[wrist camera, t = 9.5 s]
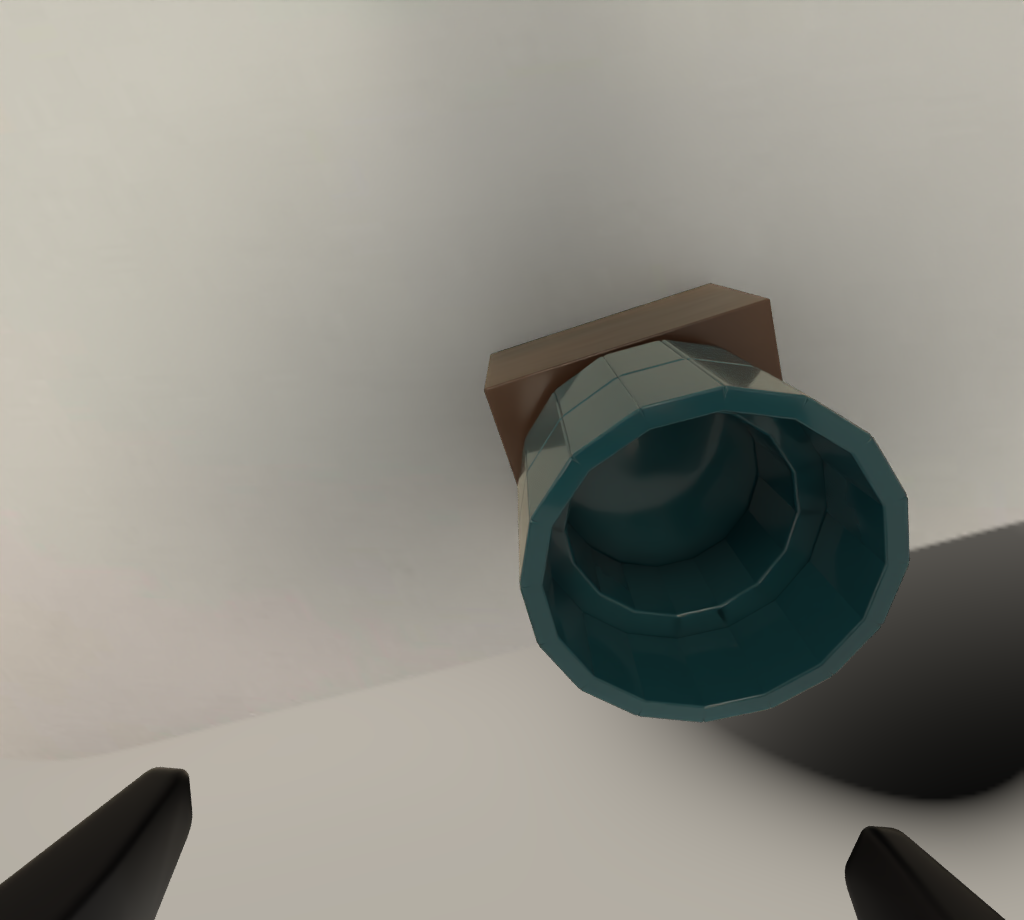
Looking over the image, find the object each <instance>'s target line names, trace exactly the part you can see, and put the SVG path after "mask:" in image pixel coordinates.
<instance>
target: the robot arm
mask: <svg viewBox="0 0 1024 920" xmlns="http://www.w3.org/2000/svg"><path fill="white" fill-rule="evenodd" d="M191 822H192V805H191V793H190V783H189V776H188V773H187V772H186V771H185V770H183V769H175V768H164V767H156V768H153V769H151V770H149V771H147V772H145V773H144V774H143V775H141V776H140V777H139V778H138V779H136V780H135V781H134V782H132V783H131V784H130V785H128V787H126V788H125V789H123V790H122V791H121V792H120V793H118V794H117V795H116V796H114V797H113V798H112V799H111V800H109V801H108V802H106V803H105V804H104V805H103V806H101V807H100V808H99V809H98V810H96V811H95V812H93V813H92V814H91V815H90V816H89V817H87V818H86V819H84V820H83V821H82V822H81V823H79V824H78V825H77V826H75V827H74V828H73V829H71V830H70V831H69V832H68V833H67V834H65V835H64V836H62V837H61V838H60V839H59V840H57V841H56V842H55V843H53V844H52V845H51V846H50V847H48V848H47V849H46V850H45V851H43V852H42V853H40V854H39V855H38V856H36V857H35V858H34V859H33V860H31V861H30V862H29V863H27V864H26V865H25V866H24V867H22V868H21V869H20V870H18V871H17V872H16V873H15V874H13V875H12V876H11V877H9V878H8V879H7V880H5V881H4V882H3V883H1V884H0V920H154V919H155V917H156V914H157V911H158V909H159V907H160V904H161V902H162V899H163V896H164V894H165V891H166V889H167V887H168V884H169V881H170V879H171V877H172V874H173V872H174V869H175V866H176V864H177V862H178V859H179V856H180V854H181V852H182V849H183V847H184V844H185V841H186V839H187V836H188V834H189V830H190V827H191ZM845 880H846V885H847V889H848V892H849V895H850V898H851V901H852V904H853V907H854V910H855V912H856V916H857V919H858V920H1005V919H1004V918H1003V917H1001V916H1000V915H999V914H998V913H997V912H996V911H995V910H993V909H992V908H991V907H990V906H989V905H988V904H986V903H985V902H984V901H983V900H982V899H980V898H979V897H978V896H977V895H976V894H974V893H973V892H972V891H971V890H970V889H969V888H968V887H966V886H965V885H964V884H963V883H962V882H961V881H959V880H958V879H957V878H956V877H954V876H953V875H952V874H951V873H950V872H949V871H948V870H946V869H945V868H944V867H943V866H942V865H941V864H939V863H938V862H937V861H936V860H935V859H934V858H932V857H931V856H930V855H929V854H928V853H926V852H925V851H924V850H923V849H922V848H920V847H919V846H918V845H917V844H916V843H915V842H914V841H912V840H911V839H910V838H909V837H907V836H906V835H905V834H904V833H903V832H901V831H899V830H897V829H894V828H888V827H875V826H868V827H866V828H865V829H863V830H862V832H861V834H860V836H859V838H858V840H857V842H856V844H855V846H854V848H853V850H852V853H851V855H850V857H849V859H848V861H847V863H846V866H845Z"/></svg>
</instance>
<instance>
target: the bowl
mask: <svg viewBox="0 0 1024 920" xmlns="http://www.w3.org/2000/svg"><path fill="white" fill-rule="evenodd" d="M518 539H519V583H520V590H521V593H522V597H523V600H524V603H525V606H526V609H527V612H528V615H529V619H530V622H531V625H532V628H533V631H534V634H535V638H536V641H537V643H538V644H539V646H540V648H542V650H543V651H544V652H545V653H546V654H547V655H548V656H549V657H550V658H551V659H552V660H553V661H554V662H555V663H556V665H557V666H558V667H559V668H560V669H561V670H562V671H563V672H564V673H565V674H566V675H567V676H568V677H569V679H571V681H572V682H573V683H574V684H575V685H576V686H577V687H578V688H579V689H581V690H582V691H584V692H586V693H588V694H590V695H592V696H594V697H597V698H599V699H601V700H603V701H605V702H608V703H610V704H612V705H614V706H616V707H618V708H621V709H623V710H625V711H627V712H629V713H631V714H634V715H638V716H640V717H651V718H661V719H671V720H681V721H691V722H703V721H704V722H710V721H714V720H719V719H724V718H729V717H734V716H739V715H744V714H749V713H754V712H759V711H764V710H769V709H770V708H774V707H776V706H778V705H780V704H781V703H784V702H785V701H787V700H789V699H791V698H793V697H795V696H796V695H798V694H800V693H802V692H804V691H806V690H808V689H810V688H811V687H813V686H815V685H817V684H819V683H821V682H823V681H825V680H827V679H828V678H830V677H832V674H833V675H834V674H836V673H837V672H838V671H839V670H840V669H841V668H842V667H843V666H844V665H845V664H846V663H847V662H848V660H849V659H850V658H851V657H852V656H853V655H854V654H855V653H856V652H857V651H858V650H859V649H860V648H861V647H862V646H863V645H864V644H865V643H866V642H867V641H868V640H869V639H870V638H871V637H872V635H874V634H875V633H876V632H877V631H878V630H879V629H880V628H881V625H882V624H883V623H884V621H885V618H886V616H887V614H888V612H889V609H890V607H891V605H892V602H893V600H894V598H895V595H896V593H897V591H898V589H899V586H900V584H901V582H902V579H903V577H904V574H905V572H906V570H907V568H908V565H909V564H908V562H909V525H908V498H907V495H906V492H905V490H904V489H903V487H902V485H901V484H900V482H899V480H898V478H897V477H896V475H895V473H894V472H893V470H892V468H891V466H890V465H889V463H888V461H887V460H886V458H885V456H884V454H883V453H882V451H881V449H880V447H879V446H878V444H877V442H876V441H875V439H874V437H872V436H871V435H870V433H868V432H866V431H865V430H863V429H862V428H860V427H858V426H857V425H855V424H853V423H852V422H850V421H849V420H847V419H845V418H844V417H842V416H841V415H839V414H837V413H836V412H834V411H832V410H831V409H829V408H828V407H826V406H824V405H823V404H821V403H820V402H818V401H816V400H815V399H813V398H811V397H810V396H808V395H806V394H804V393H803V392H801V391H799V390H797V389H795V388H794V387H792V386H790V385H788V384H786V383H785V382H783V381H781V380H779V379H777V378H776V377H774V376H772V375H770V374H769V373H767V372H765V371H763V370H761V369H759V368H758V367H756V366H754V365H752V364H750V363H749V362H747V361H745V360H743V359H741V358H740V357H738V356H736V355H734V354H732V353H731V352H729V351H727V350H725V349H721V348H720V347H718V346H710V345H703V344H695V343H687V342H679V341H671V340H662V341H654V342H651V343H647V344H643V345H640V346H636V347H632V348H628V349H625V350H621V351H617V352H614V353H610V354H606V355H605V356H604V357H599V358H598V359H597V360H595V361H594V362H592V363H591V364H590V365H588V366H587V367H586V368H584V369H583V370H582V371H580V372H579V373H578V374H576V375H575V376H574V377H572V378H571V379H570V380H568V381H567V382H566V383H564V384H563V385H561V386H560V387H559V388H557V389H556V391H555V392H554V393H552V395H551V397H550V398H549V400H548V401H547V403H546V405H545V406H544V408H543V410H542V411H541V413H540V415H539V416H538V418H537V419H536V421H535V423H534V424H533V426H532V428H531V429H530V431H529V433H528V434H527V436H526V440H525V441H524V446H523V453H522V460H521V467H520V474H519V481H518Z"/></svg>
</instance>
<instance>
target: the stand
mask: <svg viewBox="0 0 1024 920" xmlns="http://www.w3.org/2000/svg"><path fill="white" fill-rule="evenodd" d="M662 340H671V341H679V342H687V343H695V344H703V345H710V346H718V347H720V348H721V349H725V350H727V351H729V352H731V353H732V354H734V355H736V356H738V357H740V358H741V359H743V360H745V361H747V362H749V363H750V364H752V365H754V366H756V367H758V368H759V369H761V370H763V371H765V372H767V373H769V374H770V375H772V376H774V377H776V378H777V379H779V380H781V381H782V375H781V368H780V362H779V356H778V349H777V343H776V336H775V330H774V324H773V317H772V311H771V305H770V300H769V299H768V298H764V297H761V296H757V295H753V294H749V293H746V292H742V291H738V290H734V289H731V288H727V287H723V286H719V285H715V284H712V283H709V284H706V285H703V286H700V287H697V288H694V289H691V290H688V291H684V292H681V293H678V294H675V295H672V296H669V297H666V298H663V299H660V300H657V301H654V302H650V303H647V304H644V305H641V306H638V307H635V308H632V309H629V310H626V311H623V312H620V313H617V314H613V315H610V316H607V317H604V318H601V319H598V320H595V321H592V322H589V323H586V324H583V325H580V326H576V327H573V328H570V329H567V330H564V331H561V332H558V333H555V334H552V335H549V336H546V337H543V338H539V339H536V340H533V341H530V342H527V343H524V344H521V345H518V346H515V347H512V348H509V349H505V350H502V351H499V352H496V353H493V354H491V355H490V359H489V365H488V371H487V376H486V382H485V388H484V392H485V395H486V397H487V400H488V403H489V406H490V409H491V412H492V415H493V417H494V420H495V423H496V426H497V429H498V432H499V435H500V437H501V440H502V443H503V446H504V449H505V452H506V455H507V457H508V460H509V463H510V466H511V469H512V472H513V474H514V477H515V480H516V483H517V486H518V481H519V474H520V467H521V460H522V453H523V446H524V441H525V440H526V436H527V434H528V433H529V431H530V429H531V428H532V426H533V424H534V423H535V421H536V419H537V418H538V416H539V415H540V413H541V411H542V410H543V408H544V406H545V405H546V403H547V401H548V400H549V398H550V397H551V395H552V393H554V392H555V391H556V389H557V388H559V387H560V386H561V385H563V384H564V383H566V382H567V381H568V380H570V379H571V378H572V377H574V376H575V375H576V374H578V373H579V372H580V371H582V370H583V369H584V368H586V367H587V366H588V365H590V364H591V363H592V362H594V361H595V360H597V359H598V358H599V357H604V356H605V355H606V354H610V353H614V352H617V351H621V350H625V349H628V348H632V347H636V346H640V345H643V344H647V343H651V342H654V341H662Z"/></svg>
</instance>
